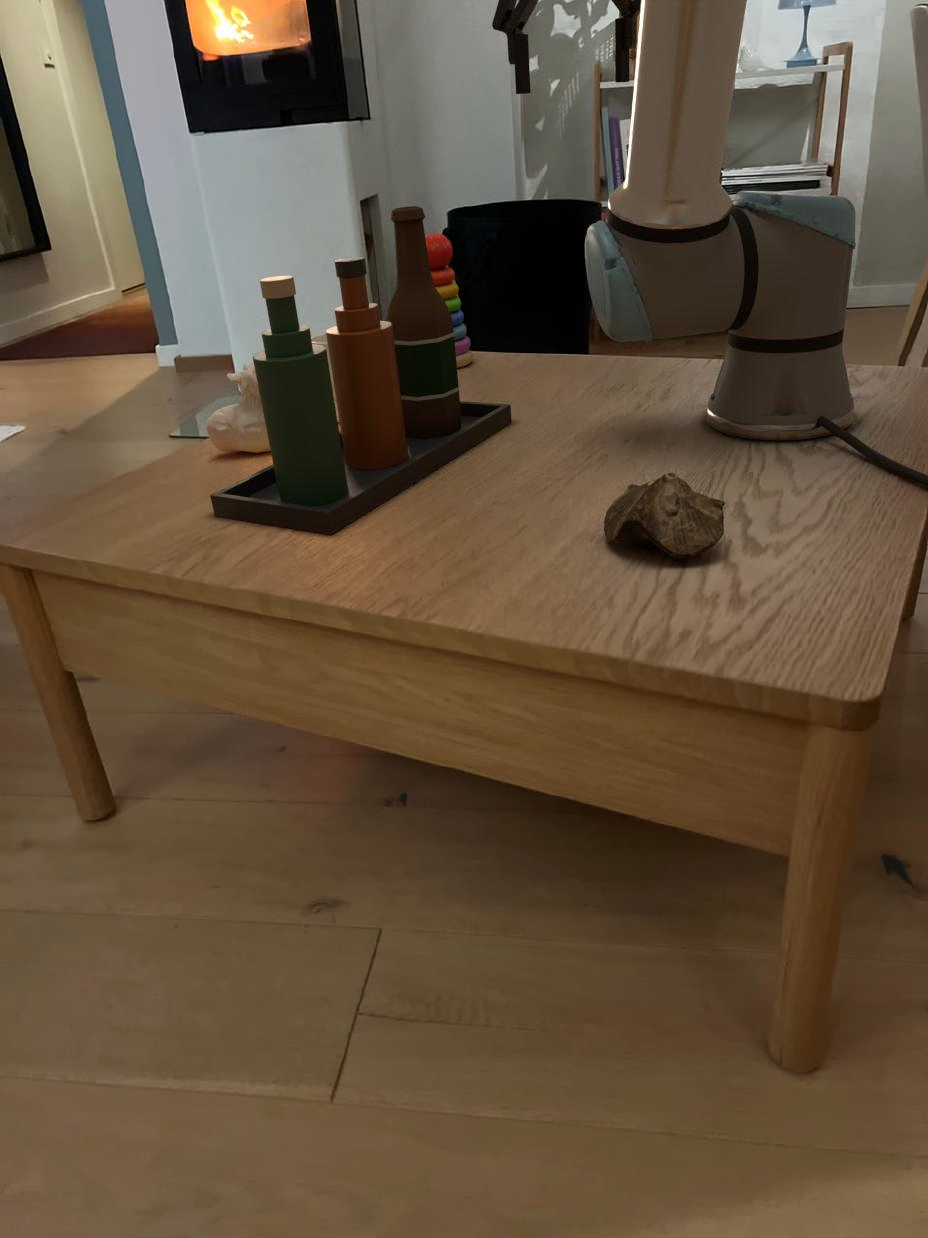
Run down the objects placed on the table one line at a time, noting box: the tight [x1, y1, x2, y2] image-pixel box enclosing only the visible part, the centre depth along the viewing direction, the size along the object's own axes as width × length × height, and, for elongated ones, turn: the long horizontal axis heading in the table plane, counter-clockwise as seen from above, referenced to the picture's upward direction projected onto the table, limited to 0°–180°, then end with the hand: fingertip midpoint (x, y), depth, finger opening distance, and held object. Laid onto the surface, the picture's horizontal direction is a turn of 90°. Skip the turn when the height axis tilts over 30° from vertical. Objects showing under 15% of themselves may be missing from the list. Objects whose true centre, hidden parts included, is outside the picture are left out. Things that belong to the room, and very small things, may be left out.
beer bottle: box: [385, 205, 461, 439], centre depth 101 cm, size 8×8×24 cm
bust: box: [206, 362, 271, 454], centre depth 105 cm, size 12×8×11 cm
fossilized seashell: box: [603, 472, 726, 559], centre depth 73 cm, size 8×7×10 cm
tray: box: [209, 400, 513, 536], centre depth 98 cm, size 36×15×2 cm, turn 150°
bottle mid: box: [325, 256, 408, 470], centre depth 94 cm, size 7×7×20 cm
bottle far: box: [252, 275, 348, 506], centre depth 86 cm, size 7×7×20 cm
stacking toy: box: [425, 232, 474, 369], centre depth 134 cm, size 8×8×19 cm
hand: (571, 88), depth 114 cm, fingers open, 13 cm apart
